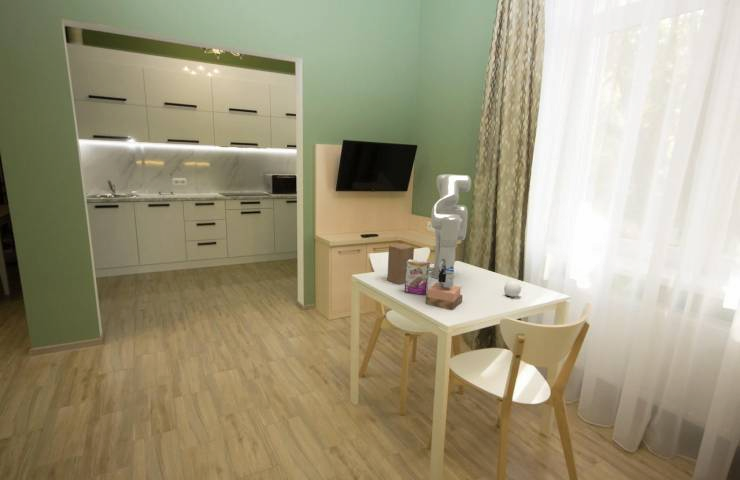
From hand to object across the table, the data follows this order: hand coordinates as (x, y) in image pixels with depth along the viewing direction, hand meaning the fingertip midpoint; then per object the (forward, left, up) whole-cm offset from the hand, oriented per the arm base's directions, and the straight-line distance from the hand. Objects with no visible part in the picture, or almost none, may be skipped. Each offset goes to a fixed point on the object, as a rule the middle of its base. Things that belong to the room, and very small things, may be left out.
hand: (445, 279), depth 177 cm
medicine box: (0, 0, -3) cm, 3 cm away
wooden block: (-33, +17, -12) cm, 39 cm away
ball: (+24, +31, -12) cm, 41 cm away
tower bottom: (0, 0, -12) cm, 12 cm away
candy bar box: (-17, +5, -12) cm, 21 cm away
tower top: (0, 0, -8) cm, 8 cm away
